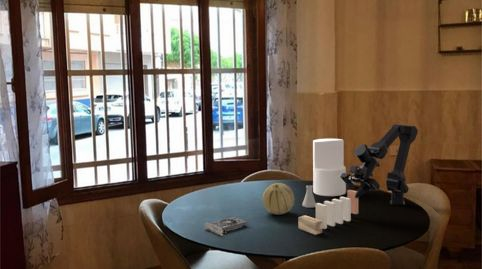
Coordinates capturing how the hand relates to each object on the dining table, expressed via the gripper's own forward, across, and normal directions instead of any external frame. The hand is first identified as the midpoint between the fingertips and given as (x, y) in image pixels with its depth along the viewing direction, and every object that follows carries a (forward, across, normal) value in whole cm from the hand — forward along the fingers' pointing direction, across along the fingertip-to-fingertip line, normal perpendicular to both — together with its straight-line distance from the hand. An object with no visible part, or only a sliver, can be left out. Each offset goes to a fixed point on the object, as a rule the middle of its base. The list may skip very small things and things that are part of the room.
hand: (350, 196), depth 215 cm
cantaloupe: (+21, -26, -7) cm, 34 cm away
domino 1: (+20, 0, -6) cm, 21 cm away
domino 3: (+13, 0, +1) cm, 13 cm away
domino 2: (+17, 0, -3) cm, 17 cm away
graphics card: (+43, -25, -28) cm, 57 cm away
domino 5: (+4, 0, +6) cm, 8 cm away
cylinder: (-11, -38, +26) cm, 47 cm away
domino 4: (+10, 0, +4) cm, 11 cm away
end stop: (+25, 0, -11) cm, 27 cm away
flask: (+7, -26, +7) cm, 28 cm away
